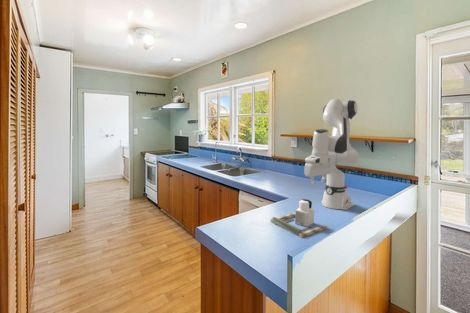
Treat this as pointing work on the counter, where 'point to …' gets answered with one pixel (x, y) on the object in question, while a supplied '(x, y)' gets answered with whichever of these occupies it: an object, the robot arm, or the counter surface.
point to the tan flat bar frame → (292, 228)
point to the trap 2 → (306, 229)
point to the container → (304, 213)
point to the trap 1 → (288, 220)
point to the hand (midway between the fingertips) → (318, 183)
